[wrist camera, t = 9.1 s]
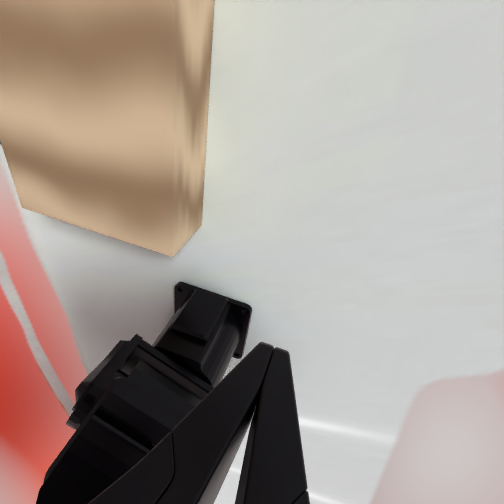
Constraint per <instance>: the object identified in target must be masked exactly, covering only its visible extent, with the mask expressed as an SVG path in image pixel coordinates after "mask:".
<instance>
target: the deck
mask: <svg viewBox="0 0 504 504" xmlns="http://www.w3.org/2000/svg"><path fill="white" fill-rule="evenodd" d="M213 16H214V0H0V141H1V144H2V147H3V150H4V153H5V156H6V160H7V163H8V166H9V169H10V172H11V175H12V178H13V181H14V184H15V188H16V191H17V194H18V197H19V200H20V203H21V206H22V208H25V209H28V210H31V211H34V212H37V213H40V214H43V215H46V216H49V217H52V218H55V219H58V220H61V221H64V222H67V223H71V224H74V225H77V226H80V227H83V228H86V229H89V230H92V231H95V232H98V233H101V234H104V235H107V236H110V237H113V238H116V239H119V240H122V241H125V242H128V243H131V244H134V245H137V246H140V247H143V248H146V249H150V250H153V251H156V252H159V253H162V254H165V255H168V256H171V257H174V256H175V254H176V253H177V252H178V251H179V250H180V249H181V248H182V247H183V245H184V244H185V243H186V242H187V241H188V240H189V239H190V238H191V237H192V235H193V234H194V233H195V232H196V231H197V230H198V229H199V228H200V227H201V225H202V208H203V190H204V173H205V155H206V138H207V121H208V103H209V86H210V68H211V51H212V34H213Z"/></svg>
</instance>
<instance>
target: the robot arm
mask: <svg viewBox="0 0 504 504" xmlns="http://www.w3.org/2000/svg"><path fill="white" fill-rule="evenodd" d="M245 310H246V311H245ZM251 314H252V308H251V306H250V305H248V304H245V303H242V302H239V301H236V300H233V299H231V298H228V297H225V296H222V295H219V294H216V293H213V292H210V291H207V290H204V289H201V288H198V287H195V286H192V285H189V284H187V283H184V282H178V283H177V284H176V286H175V314H174V316H173V317H172V318H171V320H170V321H169V323H168V324H167V325H166V327H165V328H164V330H163V331H162V332H161V334H160V335H159V337H158V338H157V339H156V341H155V342H154V344H153V345H152V346H151V345H150V344H148V343H147V342H145V341H144V340H142V339H143V338H142V337H140V336H139V335H137V334H136V335H135V336H134V337H133V338H132V339H131V341H122V340H120V341H119V342H118V344H117V345H116V346H115V347H114V348H113V350H112V351H111V352H110V353H109V354H108V356H107V357H106V358H105V359H104V360H103V361H102V362H101V363H100V364H99V365H98V366H97V367H96V368H95V369H94V370H93V371H92V372H91V373H90V374H89V375H88V376H87V377H86V378H85V379H84V381H82V382H81V384H80V385H79V386H78V387H77V388H76V390H75V395H76V404H75V405H74V407H73V409H72V410H73V411H74V412H73V413H72V414H71V416H70V417H69V419H68V421H67V422H66V424H67V425H68V426H70V427H71V428H73V429H76V432H75V433H74V435H73V436H72V437H71V439H70V440H69V441H68V443H67V444H66V446H65V447H64V448H63V450H62V451H61V452H60V454H59V455H58V457H57V458H56V459H55V461H54V462H53V463H52V465H51V466H50V467H49V469H48V471H47V473H46V475H45V478H44V484H43V485H42V486H41V488H40V491H39V494H38V498H37V501H36V504H214V501H215V499H216V497H217V495H218V493H219V490H220V488H221V486H222V484H223V482H224V480H225V477H226V475H227V473H228V471H229V469H230V466H231V464H232V462H233V460H234V458H235V456H236V453H237V451H238V449H239V447H240V445H241V442H242V440H243V438H244V436H245V434H246V432H247V429H248V427H249V425H250V422H251V426H250V430H249V435H248V440H247V445H246V450H245V455H244V460H243V465H242V470H241V475H240V480H239V485H238V490H237V495H236V501H235V504H310V502H309V494H308V491H306V490H307V481H306V473H305V466H304V458H303V451H302V444H301V436H300V429H299V421H298V414H297V407H296V399H295V392H294V384H293V377H292V369H291V362H290V355H289V352H288V351H286V350H283V349H281V348H278V347H276V348H274V347H273V346H272V345H270V344H267V343H264V342H260V343H259V344H258V345H257V346H256V347H255V348H254V349H253V350H252V351H251V352H250V353H249V354H248V355H247V356H246V357H245V358H244V359H243V360H242V361H241V362H240V363H239V364H238V365H237V366H236V367H235V368H234V369H233V370H232V371H231V372H230V373H229V374H228V375H227V376H226V377H225V378H224V379H223V380H222V378H223V376H224V374H225V372H226V369H227V367H228V365H229V363H230V360H231V358H232V357H234V358H238V359H240V358H241V357H242V355H243V353H244V348H245V343H246V338H247V333H248V328H249V324H250V319H251ZM273 350H274V351H273ZM221 380H222V381H221ZM253 414H254V415H253ZM252 417H253V418H252ZM251 419H252V421H251Z"/></svg>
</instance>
